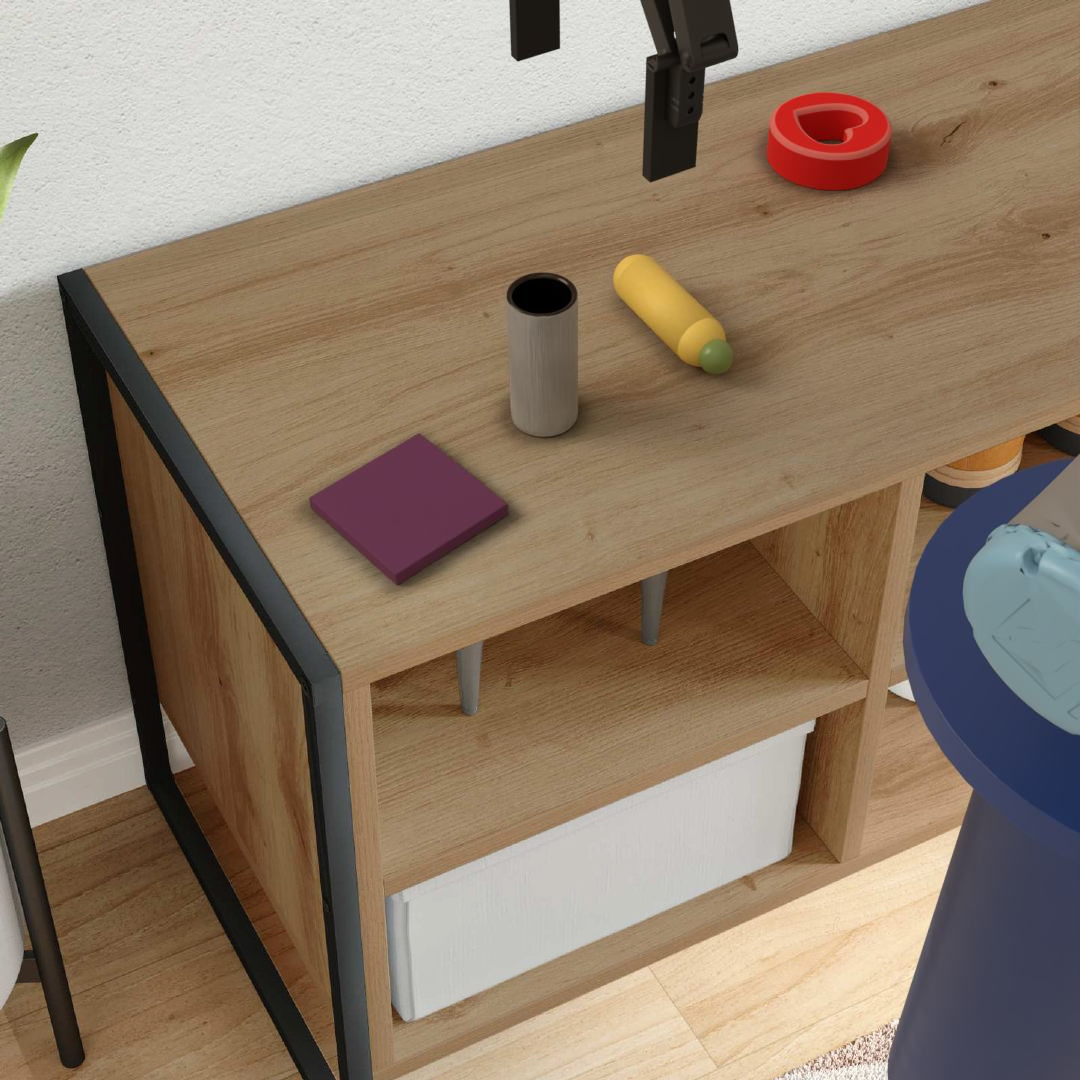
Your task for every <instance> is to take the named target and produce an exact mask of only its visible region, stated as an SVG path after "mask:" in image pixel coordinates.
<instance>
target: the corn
mask: <svg viewBox="0 0 1080 1080" xmlns="http://www.w3.org/2000/svg"><path fill="white" fill-rule="evenodd" d="M612 283H613V288H614V290H615V293H616V294H617V296H618V297H619V298H620V299H621V300H622V301H623V302H624V303H625V304H626V305H627V306H628V307H629V308H630V309H631V310H632V311H633V312H634V314H636V315H637V316H638V317H639V318H640V319H641V320H642V321H643V322H644V323H645V324H646V325H647V327H648V328H650V330H651V331H653V332H654V333H655V335H657V337H659V338H660V340H662V342H663V343H664V344H665V345H666V346H668V347H669V349H670V350H671V351H672V352H673V353H675V355H676V356H677V357H678V358H679V359H680V360H681V361H683V362H684V363H685V364H686V365H689V366H692V367H698V368H702V370H703V371H704V372H706V373H708V374H711V375H721V374H723V373H725V372H727V371H728V370H729V369H730V368H731V366H732V365H733V363H734V350H733V348H732V347H731V345H730V344H729V343H728V342H727V338H726V332H725V330H724V328H723V326H722V325H721V323H720V321H718V320H717V319H716V318H715V317H714V316H713V315H712V314H711V313H710V312H709V311H708V310H707V308H705V307H704V306H703V305H701V303H700V302H698V301H697V300H696V299H695V298H694V296H692V294H691V293H689V291H687V290H686V289H685V288H684V287H683V286H682V285H681V284H680V283H679V282H678V281H676V279H675V278H674V277H673V276H671V275H670V273H668V272H667V271H666V270H665V268H663V267H662V266H661V264H659V263H658V262H657V261H656V260H655V259H654V258H652V257H650V256H648V255H645V254H641V253H639V254H637V253H635V254H632V255H631V254H630V255H629V256H626V257H625V258H623V259H622V260H620V261H619V263H618V264H617V265H616V267H615V268H614V272H613V277H612Z"/></svg>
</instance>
